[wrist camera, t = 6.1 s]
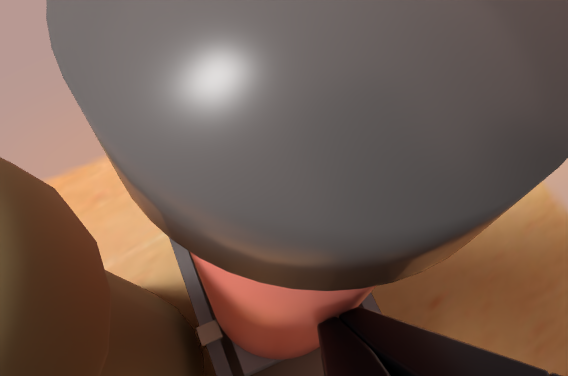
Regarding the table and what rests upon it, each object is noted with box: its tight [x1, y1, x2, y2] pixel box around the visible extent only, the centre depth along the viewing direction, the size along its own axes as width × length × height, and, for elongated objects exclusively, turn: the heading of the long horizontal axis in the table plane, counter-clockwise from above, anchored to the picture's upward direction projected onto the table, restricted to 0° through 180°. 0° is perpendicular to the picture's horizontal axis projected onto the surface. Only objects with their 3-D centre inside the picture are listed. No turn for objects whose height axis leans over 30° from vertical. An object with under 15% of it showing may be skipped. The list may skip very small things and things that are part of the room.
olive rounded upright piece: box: [0, 158, 203, 376], centre depth 9 cm, size 6×6×11 cm
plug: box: [46, 0, 568, 376], centre depth 9 cm, size 5×5×12 cm
